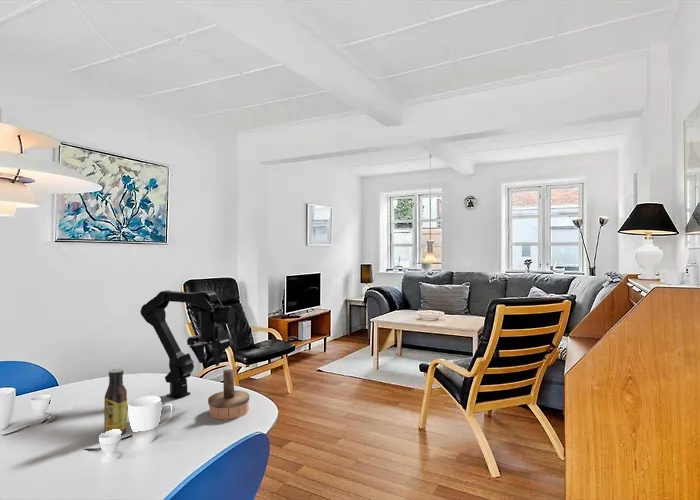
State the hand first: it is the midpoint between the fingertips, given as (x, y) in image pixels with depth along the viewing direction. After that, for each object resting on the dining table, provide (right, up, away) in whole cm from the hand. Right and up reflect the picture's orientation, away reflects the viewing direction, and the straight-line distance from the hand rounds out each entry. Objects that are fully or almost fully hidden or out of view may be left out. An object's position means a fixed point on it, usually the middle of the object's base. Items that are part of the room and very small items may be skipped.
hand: (209, 364), depth 164 cm
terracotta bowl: (+12, -13, -14) cm, 22 cm away
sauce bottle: (-19, -14, -30) cm, 38 cm away
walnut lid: (+11, -9, -14) cm, 20 cm away
